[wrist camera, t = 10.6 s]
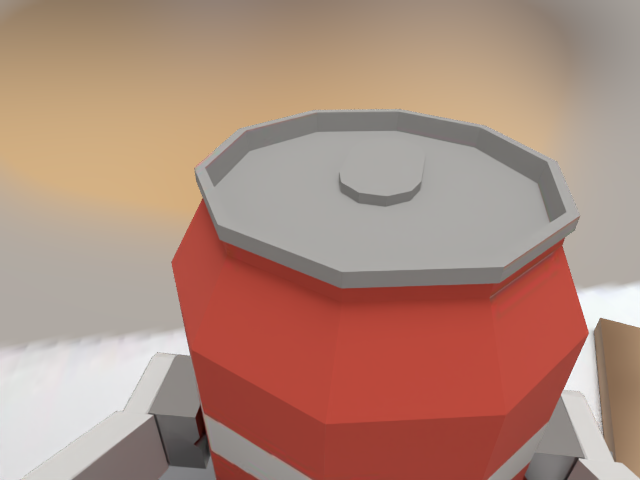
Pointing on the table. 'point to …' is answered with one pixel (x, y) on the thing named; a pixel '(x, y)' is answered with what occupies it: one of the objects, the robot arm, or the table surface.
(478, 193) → the beverage can
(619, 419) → the coaster pad
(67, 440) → the table surface
